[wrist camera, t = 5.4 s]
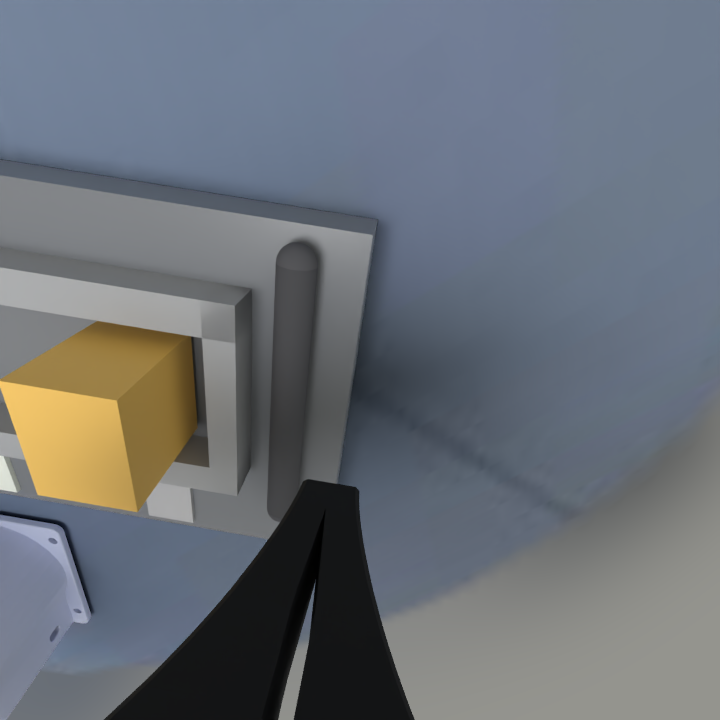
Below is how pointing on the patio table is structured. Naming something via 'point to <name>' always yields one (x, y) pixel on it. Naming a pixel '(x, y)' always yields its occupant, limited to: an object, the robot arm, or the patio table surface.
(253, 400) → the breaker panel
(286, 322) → the rod
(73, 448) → the block
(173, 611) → the patio table surface
